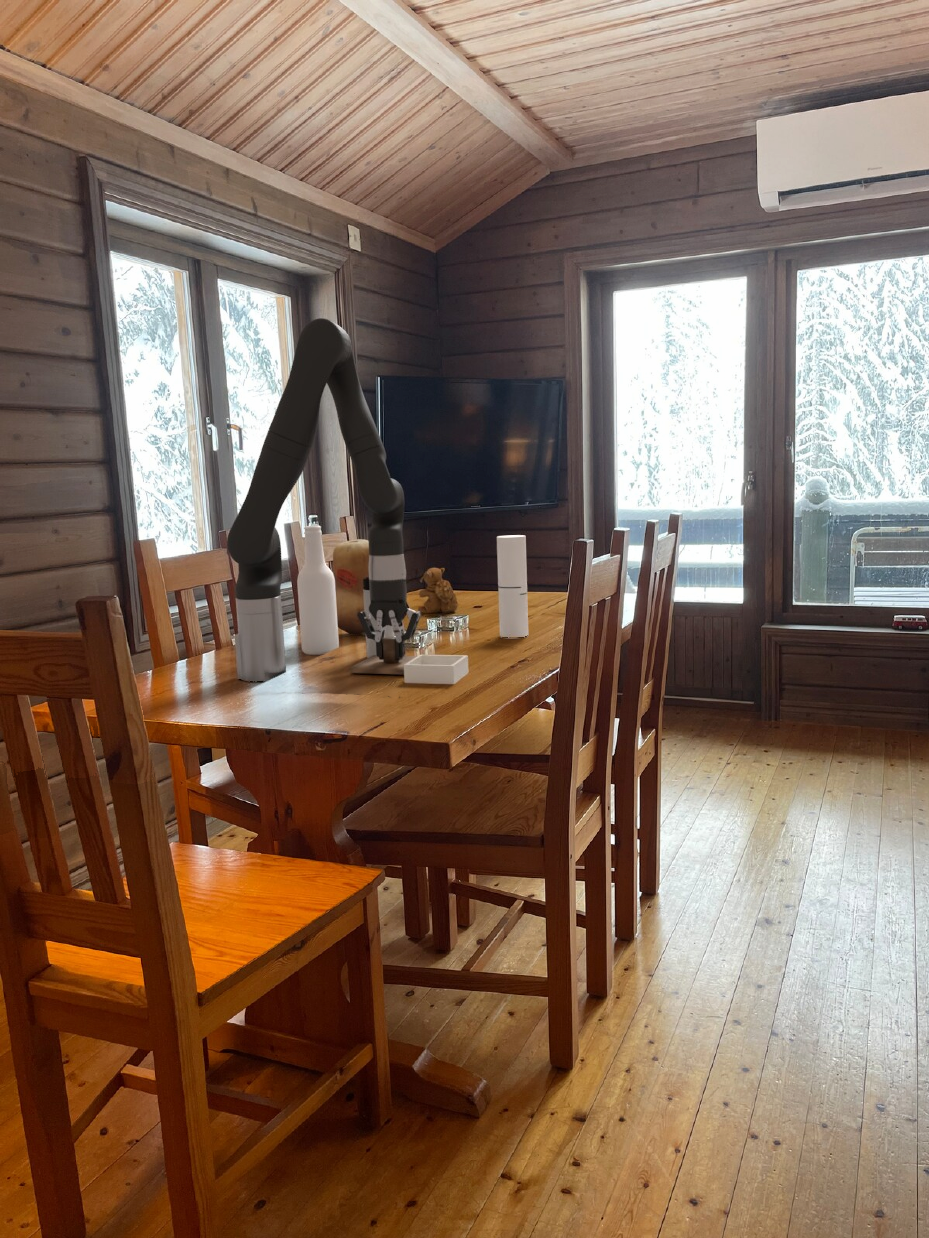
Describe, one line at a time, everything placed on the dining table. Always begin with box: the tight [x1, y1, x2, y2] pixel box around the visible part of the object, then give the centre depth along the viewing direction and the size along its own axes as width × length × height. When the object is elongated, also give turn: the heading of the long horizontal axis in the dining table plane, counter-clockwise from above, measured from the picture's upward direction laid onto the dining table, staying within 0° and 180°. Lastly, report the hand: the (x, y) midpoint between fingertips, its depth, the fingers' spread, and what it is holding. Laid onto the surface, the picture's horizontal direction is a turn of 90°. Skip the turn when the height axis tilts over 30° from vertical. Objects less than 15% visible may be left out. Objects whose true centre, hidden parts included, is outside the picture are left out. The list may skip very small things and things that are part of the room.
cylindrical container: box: [496, 534, 529, 639], centre depth 231 cm, size 7×7×25 cm
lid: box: [349, 636, 418, 675], centre depth 192 cm, size 13×13×6 cm
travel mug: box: [363, 577, 395, 659], centre depth 204 cm, size 6×7×20 cm
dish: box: [403, 654, 469, 685], centre depth 182 cm, size 10×10×5 cm
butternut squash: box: [332, 538, 369, 637], centre depth 240 cm, size 14×13×25 cm
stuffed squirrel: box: [417, 567, 460, 614], centre depth 277 cm, size 10×14×13 cm
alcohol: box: [296, 525, 340, 656], centre depth 219 cm, size 9×9×30 cm
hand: (391, 658), depth 192 cm, fingers closed on lid, 3 cm apart
